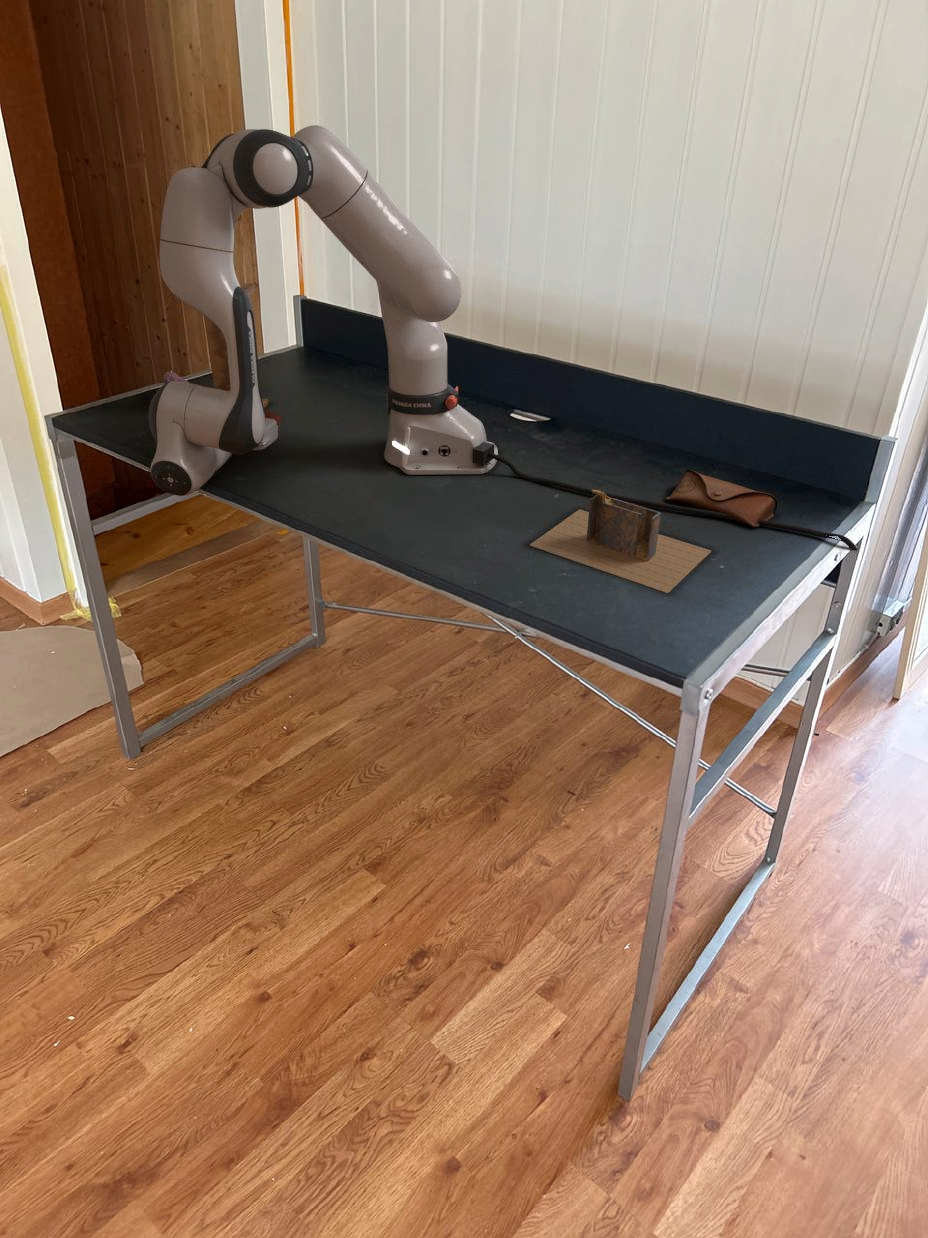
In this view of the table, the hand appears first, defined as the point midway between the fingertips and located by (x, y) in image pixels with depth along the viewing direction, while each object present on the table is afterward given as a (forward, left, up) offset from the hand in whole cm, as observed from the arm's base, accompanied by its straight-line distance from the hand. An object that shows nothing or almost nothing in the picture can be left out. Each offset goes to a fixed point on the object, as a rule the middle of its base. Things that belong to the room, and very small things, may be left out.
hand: (236, 414), depth 175 cm
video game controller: (+26, -29, -9) cm, 40 cm away
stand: (+11, -25, -9) cm, 29 cm away
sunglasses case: (-91, +6, -9) cm, 92 cm away
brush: (0, -3, -4) cm, 5 cm away
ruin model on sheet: (-74, +24, -9) cm, 78 cm away
